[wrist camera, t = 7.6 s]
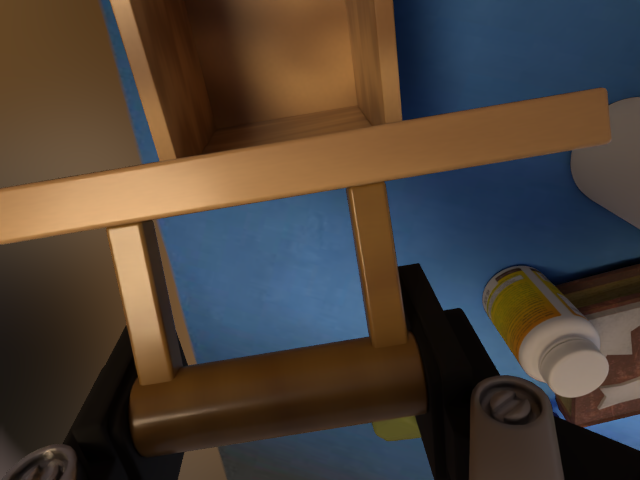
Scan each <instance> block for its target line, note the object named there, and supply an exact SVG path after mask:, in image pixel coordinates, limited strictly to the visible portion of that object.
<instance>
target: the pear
mask: <svg viewBox="0 0 640 480" xmlns="http://www.w3.org/2000/svg"><path fill="white" fill-rule="evenodd" d="M372 425H373V429H374V432H375V433H376V435H377V436H379V437H381V438H383V439H385V440H386V441H397V440H404V439H413V438H420V437H421V434H420V431H419V428H418V425H417V421H416V418H415V416H409V417H403V418H396V419H390V420H384V421H377V422H372Z"/></svg>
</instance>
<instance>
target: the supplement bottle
mask: <svg viewBox="0 0 640 480" xmlns="http://www.w3.org/2000/svg"><path fill="white" fill-rule="evenodd" d="M482 301H483V307H484V309H485V311H486V313H487V315H488V317H489V318H490V320H491V321H492V323H493V324H494V326H495V327H496V329H497V330H498V332H499V333H500V335H501V336H502V338H503V339H504V341H505V342H506V344H507V345H508V347H509V348H510V350H511V351H512V353H513V354H514V356H515V357H516V359H517V361H518V362H519V364H520V365H521V367H522V368H523V369H524V371H525V372H526V373H527V374H528V375H529V376H530V377H532V378H534V379H535V380H538V381H541V382H545V383H547V384H548V385H549V387H550V388H551V390H552V391H553V392H555V393H556V394H558V395H560V396H563V397H569V398H573V397H580V396H583V395H586V394H588V393H590V392H592V391H594V390H595V389H597V388H598V387H599V386H600V385H601V384H602V383H603V382H604V380H605V379H606V377H607V375H608V371H609V364H608V361H607V359H606V357H605V356H604V355H603V354H602V353H601V352H600V337H599V334H598V332H597V330H596V328H595V327H594V326H593V325H592V324H591V323H590V322H589V321H588V320H587V319H586V317H585V316H584V315H583V314H582V313H581V312H580V311H579V310H578V309H577V308H576V307H575V306H574V305H573V304H572V303H571V302H570V301H569V300H568V299H567V298H566V297H565V296H564V295H563V294H562V293H561V292H560V291H559V290H558V289H557V288H556V287H555V286H554V285H553V284H552V283H551V282H550V281H549V280H548V279H547V278H546V277H545V276H544V275H543V274H542V273H541V272H540V271H538V270H537V269H535V268H532V267H528V266H514V267H510V268H507V269H504V270H502V271H501V272H499V273H497V274H496V275H495V276H494V277H493V278H492V279H491V280H490V281H489V282H488V284H487V285H486V287H485V289H484V292H483V297H482Z"/></svg>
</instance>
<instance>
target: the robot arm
mask: <svg viewBox="0 0 640 480" xmlns="http://www.w3.org/2000/svg"><path fill="white" fill-rule="evenodd" d="M398 272H399V279H400V285H401V292H402V299H403V306H404V312H405V319H406V326H407V330H408V331H411V332H412V333H413V335H414V337H415V339H416V341H417V344H418V347H419V350H420V354H421V358H422V362H423V366H424V371H425V376H426V382H427V388H428V398H429V407H428V412H427V413H425V414H422V415H416V416H415V418H416V421H417V425H418V428H419V431H420V434H421V438H422V441H423V444H424V448H425V451H426V454H427V457H428V461H429V464H430V467H431V471H432V474H433V477H434V480H640V451H639V450H636V449H634V448H631V447H629V446H626V445H624V444H622V443H619V442H617V441H614V440H612V439H609V438H607V437H605V436H602V435H600V434H597V433H595V432H592V431H590V430H587V429H585V428H583V427H580V426H578V425H575V424H573V423H570V422H568V421H566V420H563V419H561V418H558V417H556V416H553V410H552V405H551V403H550V400H549V398H548V396H547V395H546V394H545V393H544V391H543V390H542V389H541V388H539V387H538V386H536V385H535V384H533V383H532V382H530V381H527V380H525V379H522V378H520V377H514V376H509V375H504V376H500V374H499V373H498V371H497V369H496V367H495V366H494V364H493V362H492V360H491V359H490V357H489V355H488V353H487V352H486V350H485V348H484V346H483V345H482V343H481V341H480V339H479V338H478V336H477V334H476V332H475V331H474V329H473V327H472V325H471V324H470V322H469V320H468V318H467V317H466V315H465V313H464V312H463V310H462V309H460V308H456V309H450V310H444V311H443V309H442V307H441V305H440V303H439V301H438V299H437V297H436V295H435V293H434V291H433V289H432V287H431V285H430V283H429V281H428V279H427V278H426V276H425V274H424V272H423V270H422V268H421V266H420V264H419V263H417V264H411V265H405V266H398ZM176 334H177V332H176ZM177 339H178V344H179V349H180V354H181V359H182V364H183V366H188V364H187V361H186V359H185V356H184V353H183V350H182V347H181V344H180V341H179V338H178V336H177ZM137 377H138V375H137V370H136V365H135V361H134V356H133V352H132V347H131V342H130V338H129V333H128V329H127V325H126V327H125V329H124V330H123V332H122V334H121V336H120V339H119V340H118V342H117V344H116V346H115V348H114V349H113V351H112V354H111V355H110V357H109V359H108V361H107V363H106V365H105V366H104V367H103V369H102V370H101V372H100V374H99V376H98V378H97V380H96V381H95V383H94V385H93V387H92V389H91V391H90V393H89V395H88V397H87V398H86V401H85V402H84V404H83V406H82V408H81V410H80V412H79V414H78V416H77V418H76V419H75V421H74V423H73V425H72V427H71V429H70V431H69V433H68V435H67V437H66V438H65V440H64V442H63V444H57V445H50V446H46V447H43V448H41V449H38V450H36V451H34V452H32V453H30V454H29V455H27V456H26V457H24V458H23V459H21V460H20V461H18V462H17V463H16V464H15V465H14V466H13V467H12V468H11V469H10V470H9V471H8V472H7V473H6V475H5V476H4V477H3V479H2V480H178V476H179V472H180V467H181V464H182V459H183V455H184V452H180V453H174V454H167V455H161V456H155V457H144V456H141V455H140V454H139V453H138V452H137V450H136V449H135V447H134V444H133V442H132V439H131V435H130V430H129V421H128V406H129V398H130V393H131V389H132V386H133V384H134V382H135V380H136V378H137Z"/></svg>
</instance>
